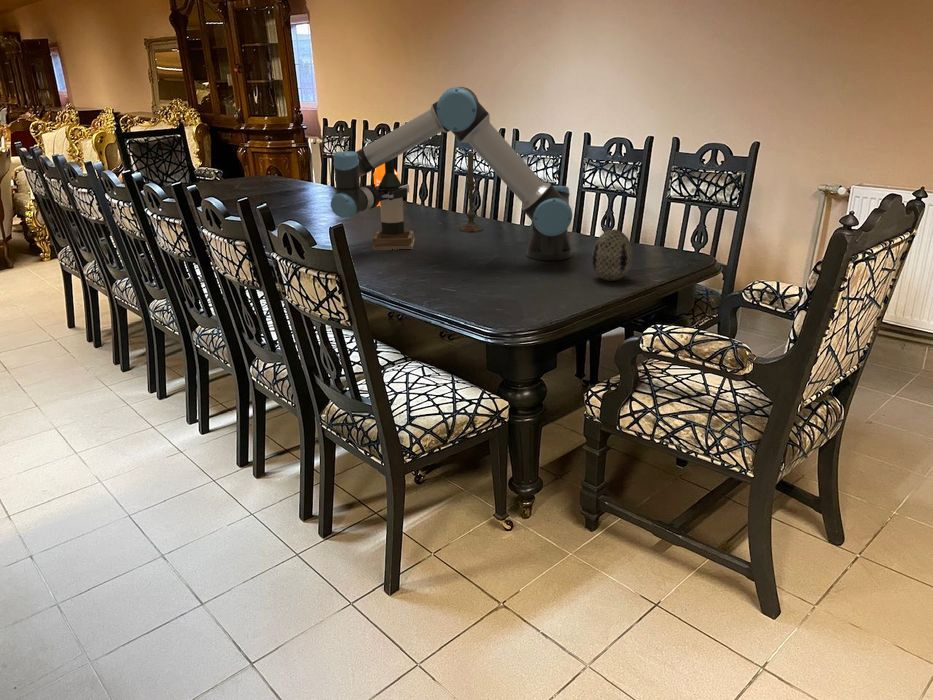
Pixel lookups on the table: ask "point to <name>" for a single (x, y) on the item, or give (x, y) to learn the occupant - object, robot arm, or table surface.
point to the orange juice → (380, 175)
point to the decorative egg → (612, 255)
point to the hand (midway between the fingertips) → (397, 187)
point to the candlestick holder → (471, 199)
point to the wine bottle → (391, 203)
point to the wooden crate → (393, 241)
